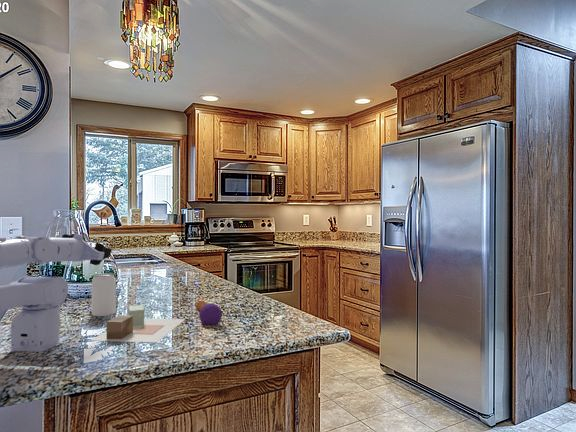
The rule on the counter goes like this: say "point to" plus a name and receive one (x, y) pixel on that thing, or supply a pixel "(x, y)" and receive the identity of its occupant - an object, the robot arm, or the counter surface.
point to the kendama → (209, 313)
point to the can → (103, 294)
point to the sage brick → (137, 314)
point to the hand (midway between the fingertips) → (97, 249)
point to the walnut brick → (119, 327)
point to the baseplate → (146, 331)
